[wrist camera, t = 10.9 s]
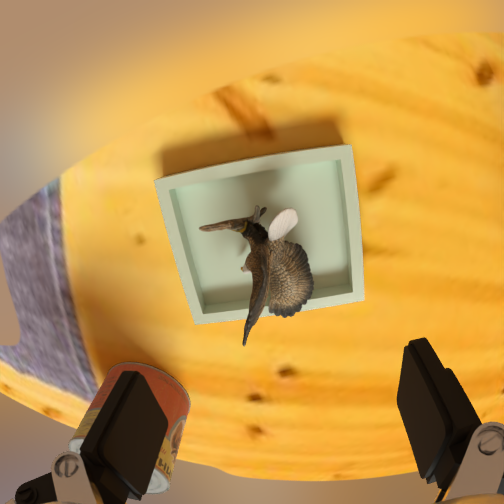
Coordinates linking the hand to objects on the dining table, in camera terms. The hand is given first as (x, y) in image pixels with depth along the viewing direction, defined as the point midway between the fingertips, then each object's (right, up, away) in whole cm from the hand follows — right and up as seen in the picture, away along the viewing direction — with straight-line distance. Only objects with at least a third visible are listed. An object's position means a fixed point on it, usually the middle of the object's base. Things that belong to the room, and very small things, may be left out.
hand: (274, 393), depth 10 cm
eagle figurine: (0, +4, +16) cm, 16 cm away
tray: (0, +6, +16) cm, 17 cm away
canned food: (-14, -13, +25) cm, 31 cm away
